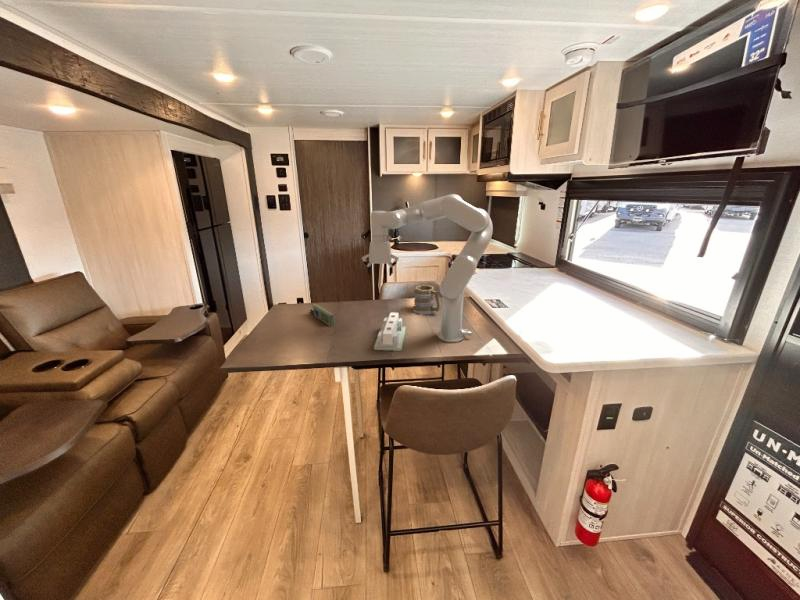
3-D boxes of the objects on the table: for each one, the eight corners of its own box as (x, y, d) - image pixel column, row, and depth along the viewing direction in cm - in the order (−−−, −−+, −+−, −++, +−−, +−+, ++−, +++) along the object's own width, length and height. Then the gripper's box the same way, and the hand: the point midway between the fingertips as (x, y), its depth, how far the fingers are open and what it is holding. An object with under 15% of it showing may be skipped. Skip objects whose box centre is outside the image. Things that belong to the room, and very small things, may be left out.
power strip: (398, 321, 156) (398, 312, 154) (392, 344, 134) (392, 333, 132) (390, 321, 156) (390, 312, 155) (383, 344, 134) (382, 333, 132)
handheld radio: (329, 327, 159) (308, 313, 177) (335, 325, 161) (313, 312, 179) (329, 315, 157) (307, 302, 175) (334, 313, 159) (313, 301, 177)
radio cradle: (405, 329, 156) (405, 317, 154) (401, 351, 135) (401, 337, 133) (382, 328, 157) (381, 316, 155) (374, 349, 137) (373, 336, 134)
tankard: (408, 310, 180) (408, 285, 175) (423, 305, 188) (424, 281, 183) (434, 320, 166) (435, 294, 161) (449, 314, 174) (451, 288, 169)
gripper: (399, 237, 145) (399, 273, 151) (362, 237, 146) (364, 272, 152) (397, 240, 138) (397, 277, 144) (359, 239, 139) (361, 276, 145)
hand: (380, 274), depth 148 cm, fingers open, 9 cm apart
